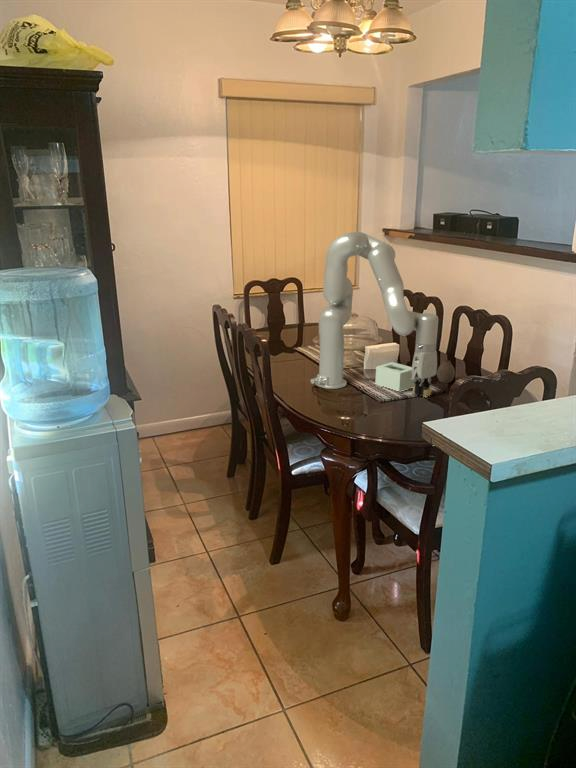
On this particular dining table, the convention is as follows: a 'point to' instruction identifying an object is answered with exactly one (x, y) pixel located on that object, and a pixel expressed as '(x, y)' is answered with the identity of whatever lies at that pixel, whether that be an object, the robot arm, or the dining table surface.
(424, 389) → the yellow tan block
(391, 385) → the coin box
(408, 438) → the dining table surface
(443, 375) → the vase
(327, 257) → the robot arm
